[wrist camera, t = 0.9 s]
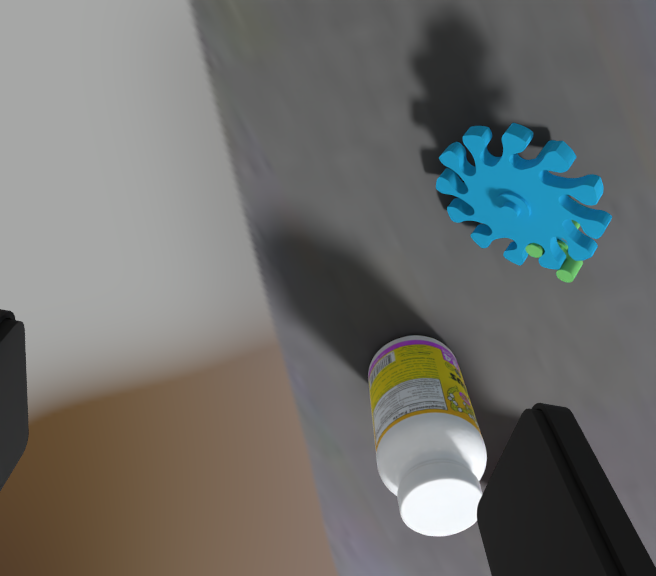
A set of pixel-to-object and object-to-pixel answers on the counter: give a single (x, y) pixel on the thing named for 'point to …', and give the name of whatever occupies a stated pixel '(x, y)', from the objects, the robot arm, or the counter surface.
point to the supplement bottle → (426, 435)
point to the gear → (524, 199)
